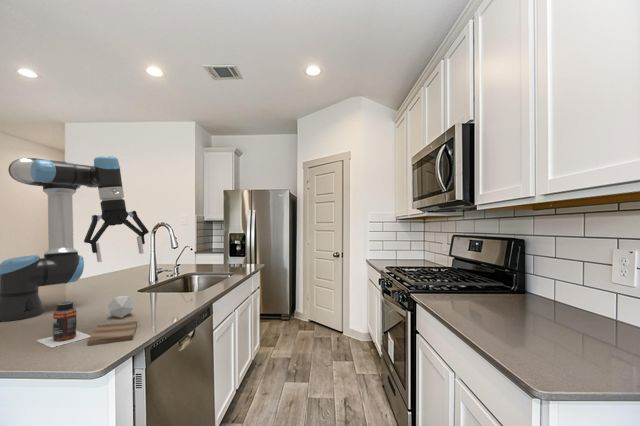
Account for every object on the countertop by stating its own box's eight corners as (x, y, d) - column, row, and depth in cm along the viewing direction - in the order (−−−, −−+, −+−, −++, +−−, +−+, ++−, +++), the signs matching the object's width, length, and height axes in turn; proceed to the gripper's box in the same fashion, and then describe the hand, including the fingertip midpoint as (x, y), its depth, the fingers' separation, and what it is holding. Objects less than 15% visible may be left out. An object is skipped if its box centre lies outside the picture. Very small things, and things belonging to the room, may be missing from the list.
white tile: (36, 340, 102) (36, 340, 102) (76, 330, 112) (76, 330, 112) (51, 347, 97) (51, 347, 97) (92, 336, 106) (92, 336, 106)
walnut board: (98, 329, 113) (98, 325, 113) (137, 325, 118) (137, 320, 118) (87, 345, 99) (87, 340, 99) (132, 339, 104) (132, 335, 104)
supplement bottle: (79, 334, 108) (80, 300, 108) (70, 340, 102) (71, 304, 102) (59, 335, 107) (60, 301, 107) (48, 342, 101) (49, 305, 101)
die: (138, 316, 131) (136, 294, 136) (125, 311, 123) (124, 288, 128) (117, 324, 130) (116, 302, 135) (103, 319, 122) (103, 296, 127)
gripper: (72, 202, 105) (82, 266, 106) (152, 195, 123) (160, 250, 125) (67, 203, 110) (77, 264, 112) (145, 197, 129) (153, 250, 130)
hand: (121, 257), depth 118 cm, fingers open, 13 cm apart
